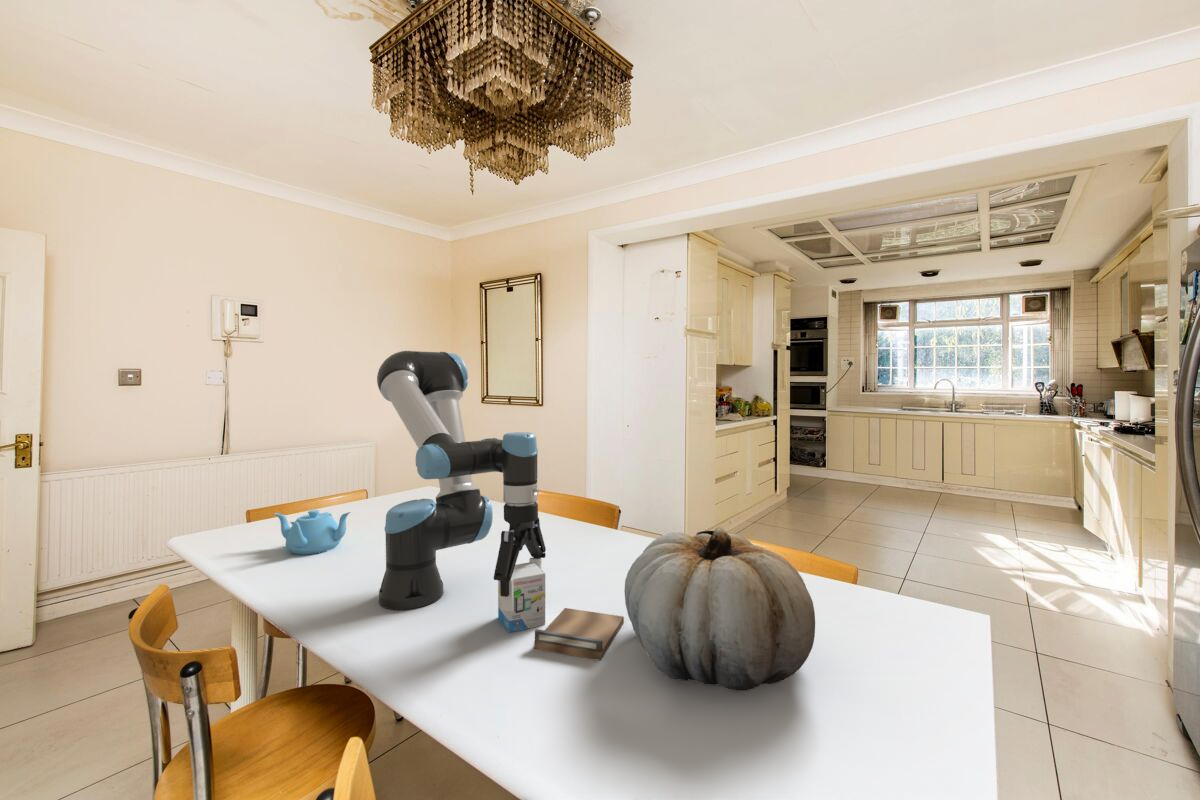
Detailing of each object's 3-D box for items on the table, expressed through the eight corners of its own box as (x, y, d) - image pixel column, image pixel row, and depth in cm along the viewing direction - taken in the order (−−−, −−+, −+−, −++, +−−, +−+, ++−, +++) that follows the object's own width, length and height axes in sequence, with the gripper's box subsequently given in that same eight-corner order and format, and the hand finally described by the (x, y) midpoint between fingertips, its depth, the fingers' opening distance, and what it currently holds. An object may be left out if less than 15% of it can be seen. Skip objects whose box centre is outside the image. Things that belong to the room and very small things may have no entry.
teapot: (292, 561, 152) (291, 521, 151) (274, 548, 164) (273, 510, 164) (351, 548, 164) (351, 510, 164) (331, 536, 177) (330, 501, 177)
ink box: (508, 633, 107) (508, 579, 107) (497, 617, 115) (497, 566, 114) (546, 624, 111) (546, 572, 111) (533, 609, 119) (532, 560, 118)
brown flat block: (534, 648, 101) (534, 631, 101) (565, 614, 116) (565, 599, 116) (600, 660, 96) (600, 642, 96) (623, 623, 112) (623, 607, 111)
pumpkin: (586, 636, 106) (585, 517, 105) (716, 600, 124) (716, 498, 123) (704, 744, 74) (705, 575, 73) (857, 675, 91) (859, 538, 91)
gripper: (508, 516, 99) (510, 624, 99) (558, 492, 123) (559, 579, 123) (475, 514, 102) (476, 619, 102) (530, 491, 125) (532, 576, 125)
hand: (522, 597), depth 112 cm, fingers open, 13 cm apart
